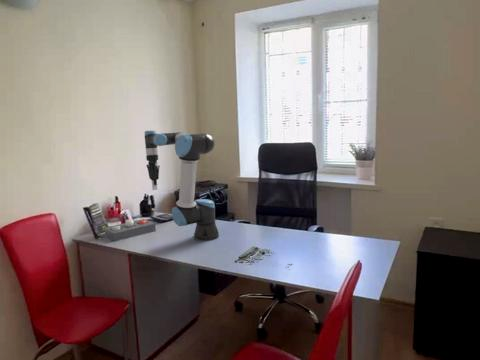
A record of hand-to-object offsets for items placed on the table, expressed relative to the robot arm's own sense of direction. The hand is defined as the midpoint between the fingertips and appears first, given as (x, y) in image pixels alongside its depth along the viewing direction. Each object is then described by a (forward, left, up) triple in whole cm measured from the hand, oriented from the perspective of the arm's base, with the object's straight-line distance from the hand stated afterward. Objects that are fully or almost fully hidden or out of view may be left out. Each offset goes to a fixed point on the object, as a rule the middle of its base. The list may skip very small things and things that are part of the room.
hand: (154, 189), depth 249 cm
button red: (+2, +10, -24) cm, 26 cm away
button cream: (+2, +19, -22) cm, 29 cm away
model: (-93, -12, -27) cm, 98 cm away
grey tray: (+2, +19, -26) cm, 32 cm away
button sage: (+2, +28, -24) cm, 37 cm away
